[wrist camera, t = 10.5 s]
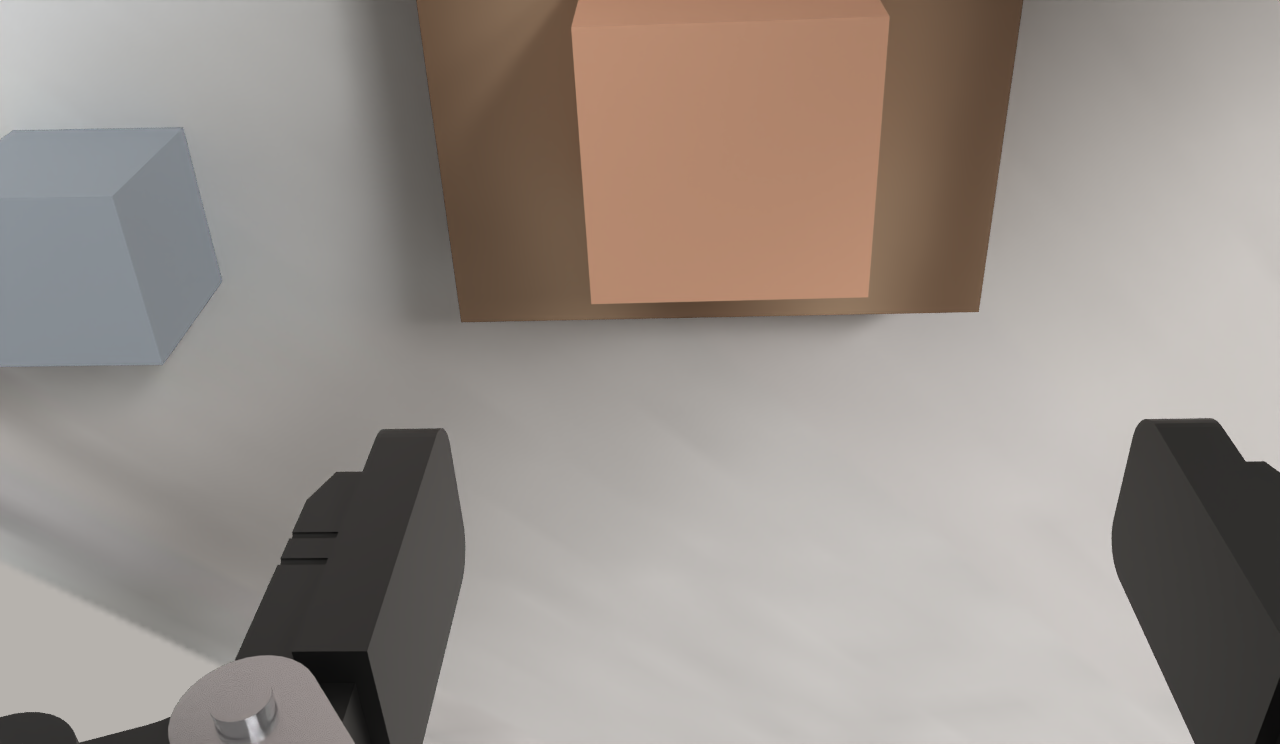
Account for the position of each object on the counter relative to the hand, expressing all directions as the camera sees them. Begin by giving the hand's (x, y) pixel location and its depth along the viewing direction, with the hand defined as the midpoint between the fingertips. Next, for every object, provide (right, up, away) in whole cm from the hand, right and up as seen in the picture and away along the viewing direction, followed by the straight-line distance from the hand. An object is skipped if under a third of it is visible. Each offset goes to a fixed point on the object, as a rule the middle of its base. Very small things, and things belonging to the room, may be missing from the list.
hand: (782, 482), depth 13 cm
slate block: (-16, +6, +17) cm, 24 cm away
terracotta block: (0, +8, +12) cm, 14 cm away
